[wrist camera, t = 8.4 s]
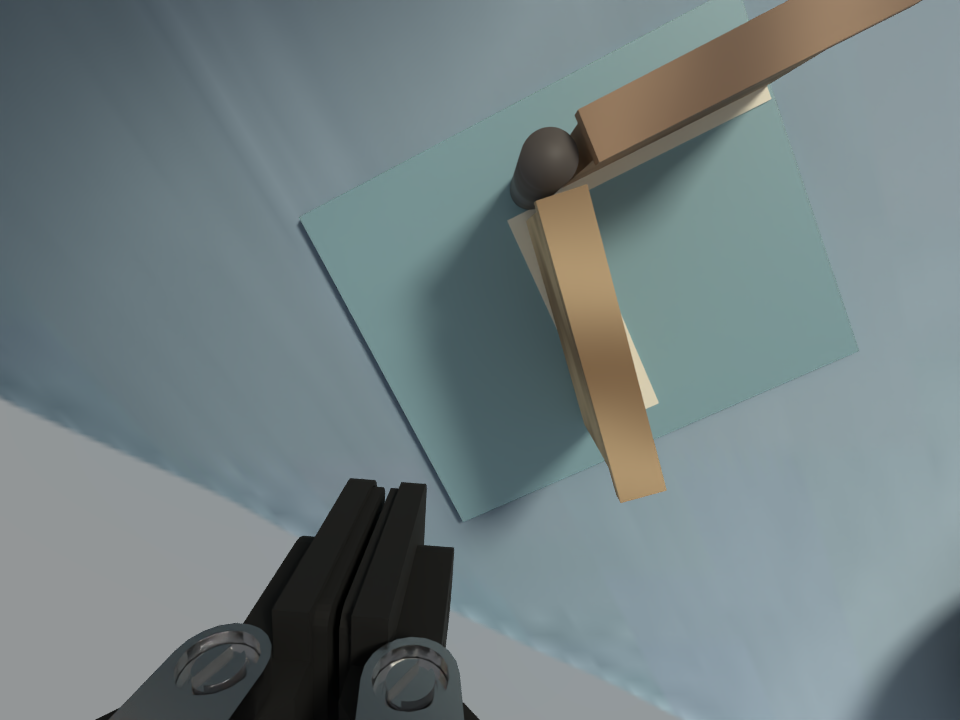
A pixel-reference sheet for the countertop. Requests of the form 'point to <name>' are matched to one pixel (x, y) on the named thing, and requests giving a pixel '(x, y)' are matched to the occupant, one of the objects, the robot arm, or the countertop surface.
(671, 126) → the fixed fence panel
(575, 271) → the panel
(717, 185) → the board
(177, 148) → the countertop surface
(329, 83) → the countertop surface
